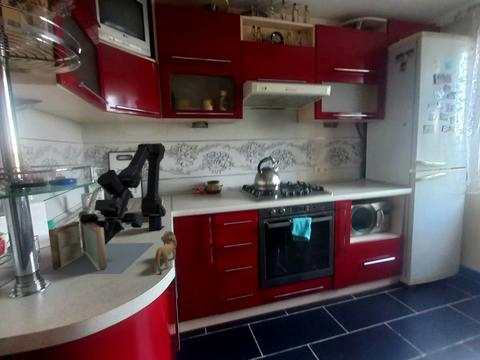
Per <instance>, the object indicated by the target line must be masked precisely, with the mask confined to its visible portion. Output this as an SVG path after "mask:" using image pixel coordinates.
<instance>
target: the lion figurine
mask: <svg viewBox="0 0 480 360" xmlns="http://www.w3.org/2000/svg"><path fill="white" fill-rule="evenodd" d="M160 240H161V242H162V243H163V245H162V246H160V247H158V248H157V249H156V251H155V262H154V265H153V267H154V270H153V272H154V273H158V272H159V275H160V276H161V275H162V269H161V265H160V260H161V258H162V260H163V261H164V266H165V268H166V269H170V268H171V267H172V266H171V265H169V256H170V255H172V260H176V259H177V258H176V248H177V245H178V244H177V237H176V235H175V233H174V231H172V230H166V231H165V232H164V233H163V235H162V236H161V237H160Z"/></svg>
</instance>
